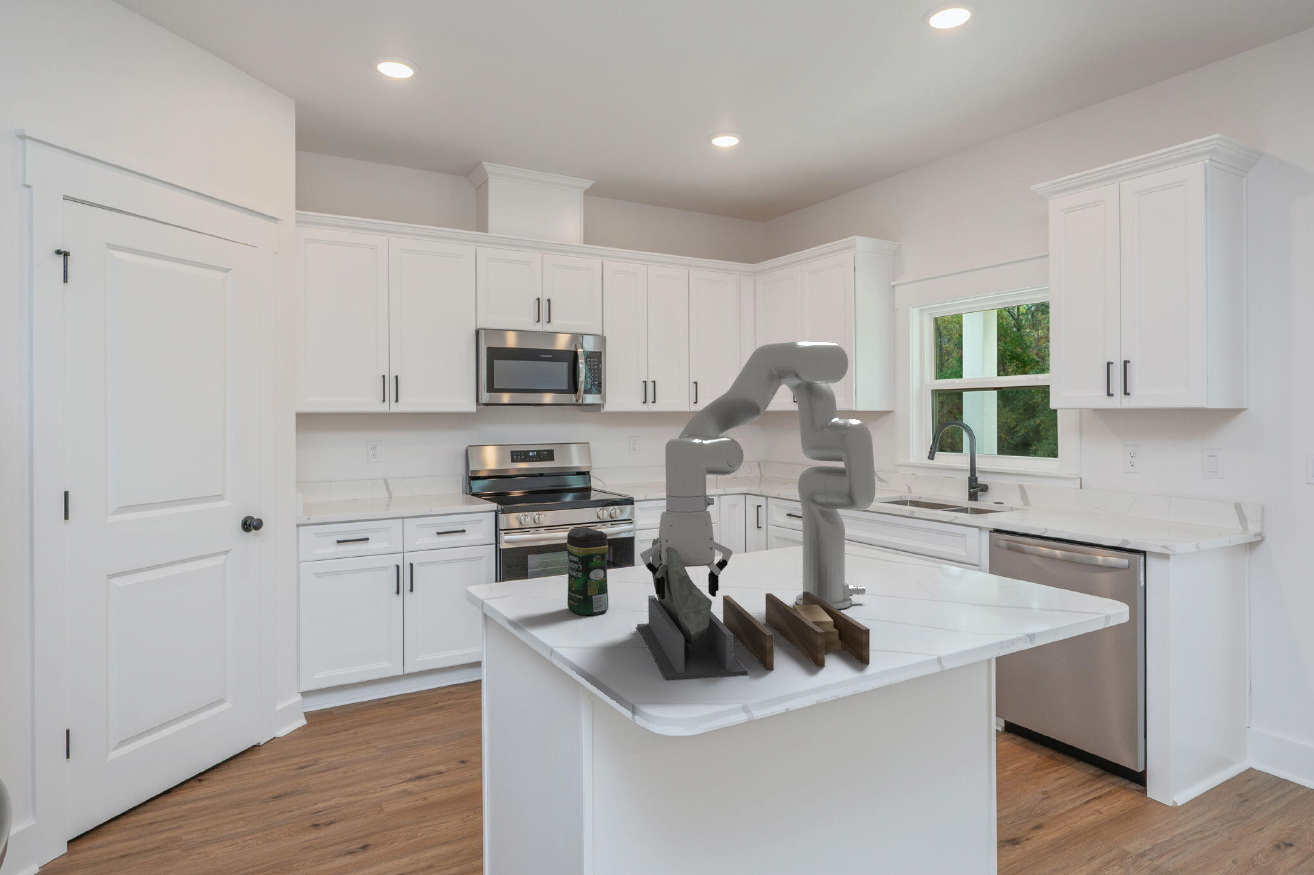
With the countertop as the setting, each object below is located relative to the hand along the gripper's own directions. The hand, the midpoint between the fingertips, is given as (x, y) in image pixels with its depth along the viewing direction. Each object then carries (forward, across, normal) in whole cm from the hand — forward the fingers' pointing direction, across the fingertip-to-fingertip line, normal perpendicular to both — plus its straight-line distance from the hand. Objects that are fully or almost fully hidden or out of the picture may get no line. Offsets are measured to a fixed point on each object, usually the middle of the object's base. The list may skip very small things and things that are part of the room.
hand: (687, 596), depth 140 cm
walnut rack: (+10, -20, 0) cm, 22 cm away
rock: (+9, 0, 0) cm, 9 cm away
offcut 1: (+6, -25, 0) cm, 25 cm away
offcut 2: (+8, -25, 0) cm, 26 cm away
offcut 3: (+10, -25, 0) cm, 27 cm away
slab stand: (+10, 0, 0) cm, 10 cm away
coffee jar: (+10, +16, -31) cm, 36 cm away
